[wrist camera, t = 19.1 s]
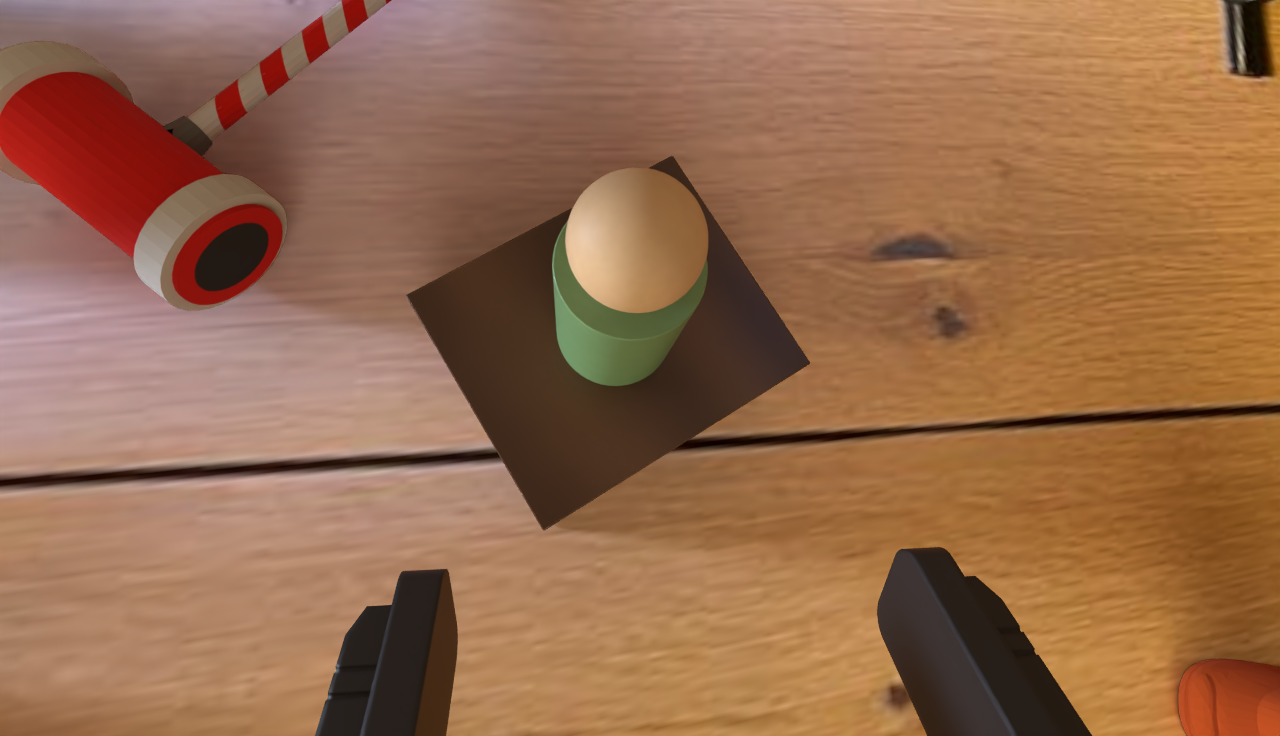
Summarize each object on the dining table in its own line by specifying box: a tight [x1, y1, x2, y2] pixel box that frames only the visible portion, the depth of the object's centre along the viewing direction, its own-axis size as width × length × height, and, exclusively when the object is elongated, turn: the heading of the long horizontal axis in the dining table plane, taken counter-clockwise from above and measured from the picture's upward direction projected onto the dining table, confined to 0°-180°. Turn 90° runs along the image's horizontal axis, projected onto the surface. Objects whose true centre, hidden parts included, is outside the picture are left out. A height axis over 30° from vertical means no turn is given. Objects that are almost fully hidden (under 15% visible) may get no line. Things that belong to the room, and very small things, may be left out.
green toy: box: [552, 167, 708, 386], centre depth 22 cm, size 5×5×11 cm
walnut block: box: [406, 156, 810, 530], centre depth 31 cm, size 13×11×6 cm
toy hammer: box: [0, 0, 391, 310], centre depth 32 cm, size 23×12×6 cm, turn 143°
